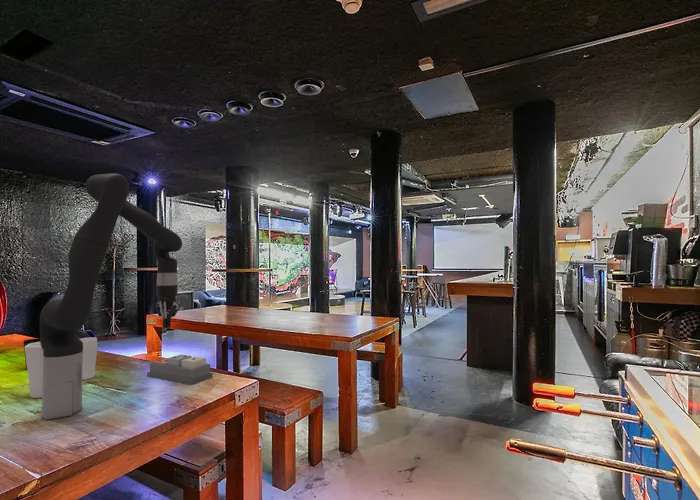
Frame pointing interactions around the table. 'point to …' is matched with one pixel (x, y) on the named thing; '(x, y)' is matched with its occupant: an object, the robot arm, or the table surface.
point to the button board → (179, 373)
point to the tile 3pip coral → (162, 361)
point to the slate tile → (177, 360)
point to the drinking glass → (89, 357)
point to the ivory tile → (193, 362)
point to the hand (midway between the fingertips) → (166, 327)
